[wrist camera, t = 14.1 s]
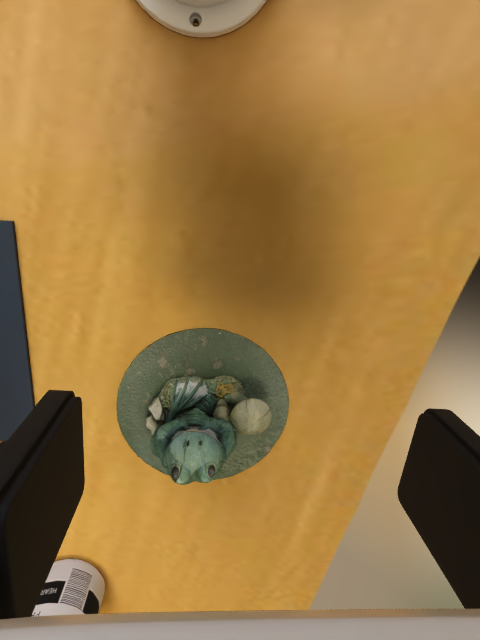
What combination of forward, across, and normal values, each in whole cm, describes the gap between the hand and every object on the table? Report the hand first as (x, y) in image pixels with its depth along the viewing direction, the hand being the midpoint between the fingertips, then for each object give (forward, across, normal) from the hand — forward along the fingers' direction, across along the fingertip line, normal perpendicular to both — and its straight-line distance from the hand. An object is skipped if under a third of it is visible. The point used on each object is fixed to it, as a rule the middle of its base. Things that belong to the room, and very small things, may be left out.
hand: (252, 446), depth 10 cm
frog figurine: (+26, +1, +15) cm, 30 cm away
